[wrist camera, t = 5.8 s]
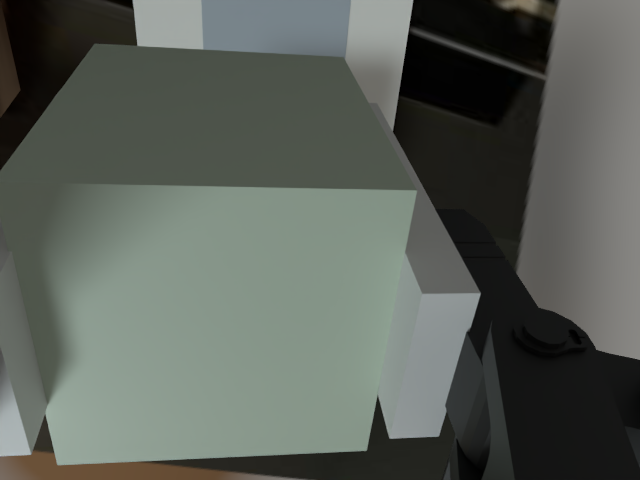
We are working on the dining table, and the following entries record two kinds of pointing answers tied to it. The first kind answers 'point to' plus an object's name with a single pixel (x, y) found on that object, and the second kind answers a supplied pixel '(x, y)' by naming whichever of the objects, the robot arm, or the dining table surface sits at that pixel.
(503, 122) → the dining table surface
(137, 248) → the sage block
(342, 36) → the board
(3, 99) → the walnut block
